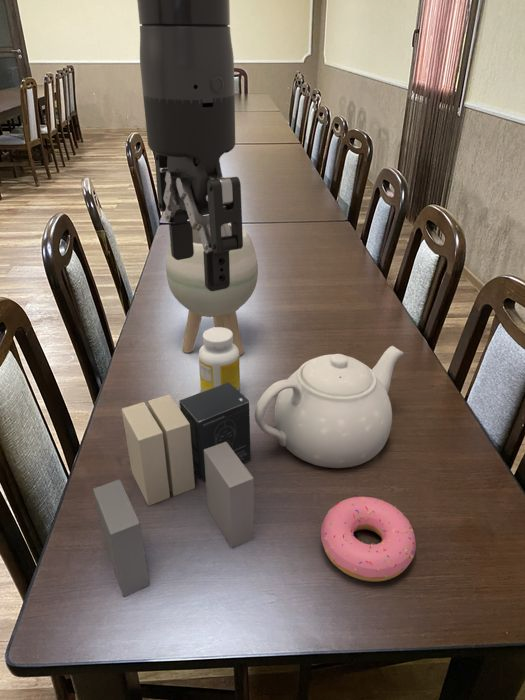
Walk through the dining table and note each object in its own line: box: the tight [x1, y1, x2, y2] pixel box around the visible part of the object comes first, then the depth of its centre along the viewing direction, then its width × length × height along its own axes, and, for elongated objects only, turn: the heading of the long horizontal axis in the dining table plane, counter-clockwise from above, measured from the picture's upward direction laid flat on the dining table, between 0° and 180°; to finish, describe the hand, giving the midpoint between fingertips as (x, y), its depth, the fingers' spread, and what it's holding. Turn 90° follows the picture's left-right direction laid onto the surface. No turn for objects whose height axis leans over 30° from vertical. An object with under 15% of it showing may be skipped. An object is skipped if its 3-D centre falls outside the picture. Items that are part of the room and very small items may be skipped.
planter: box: [165, 223, 259, 356], centre depth 97 cm, size 16×16×22 cm
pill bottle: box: [198, 327, 241, 393], centre depth 87 cm, size 6×6×12 cm
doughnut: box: [320, 494, 417, 583], centre depth 62 cm, size 11×11×4 cm
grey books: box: [92, 442, 255, 597], centre depth 61 cm, size 16×7×10 cm, turn 119°
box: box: [178, 382, 252, 482], centre depth 73 cm, size 8×6×11 cm
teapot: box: [254, 345, 405, 469], centre depth 78 cm, size 19×18×14 cm
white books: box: [121, 393, 196, 507], centre depth 70 cm, size 6×7×11 cm
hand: (199, 272), depth 53 cm, fingers open, 8 cm apart
